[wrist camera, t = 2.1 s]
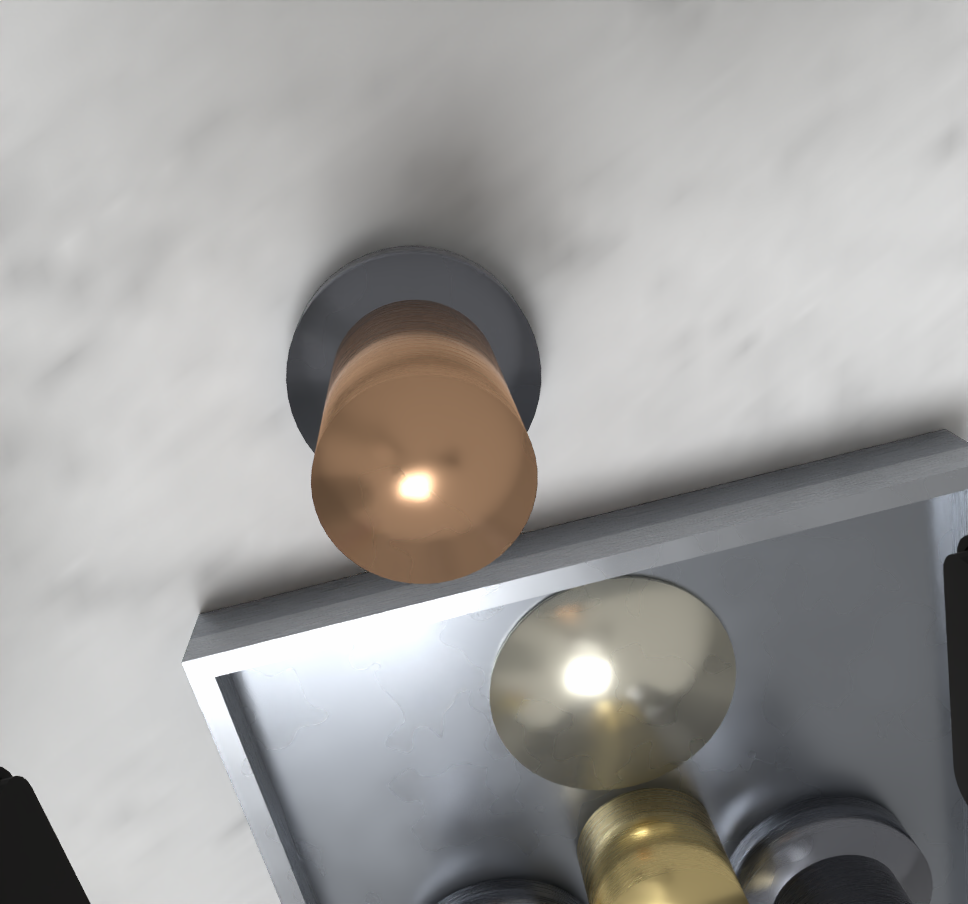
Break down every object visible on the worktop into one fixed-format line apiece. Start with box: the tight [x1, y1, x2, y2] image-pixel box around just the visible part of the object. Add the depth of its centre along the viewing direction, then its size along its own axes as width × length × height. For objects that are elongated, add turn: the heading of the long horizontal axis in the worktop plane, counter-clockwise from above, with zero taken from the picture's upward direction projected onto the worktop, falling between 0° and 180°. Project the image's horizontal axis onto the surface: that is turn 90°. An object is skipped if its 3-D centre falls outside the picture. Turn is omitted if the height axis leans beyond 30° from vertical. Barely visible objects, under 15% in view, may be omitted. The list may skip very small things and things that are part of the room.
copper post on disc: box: [286, 246, 541, 584], centre depth 19 cm, size 6×6×7 cm
